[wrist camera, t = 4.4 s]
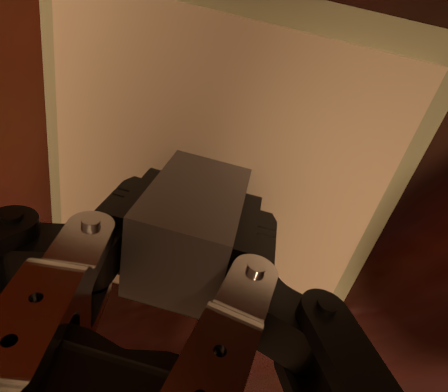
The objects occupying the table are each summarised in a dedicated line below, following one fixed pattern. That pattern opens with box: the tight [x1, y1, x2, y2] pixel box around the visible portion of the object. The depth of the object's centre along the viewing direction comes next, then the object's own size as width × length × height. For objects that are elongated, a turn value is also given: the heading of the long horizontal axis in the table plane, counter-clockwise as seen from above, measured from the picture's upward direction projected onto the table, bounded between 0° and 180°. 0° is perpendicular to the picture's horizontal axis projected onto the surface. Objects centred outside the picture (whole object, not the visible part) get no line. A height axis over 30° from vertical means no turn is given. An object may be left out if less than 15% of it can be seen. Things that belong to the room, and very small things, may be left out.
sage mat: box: [39, 0, 448, 302], centre depth 15 cm, size 15×15×1 cm
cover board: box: [52, 0, 448, 319], centre depth 12 cm, size 13×13×6 cm
